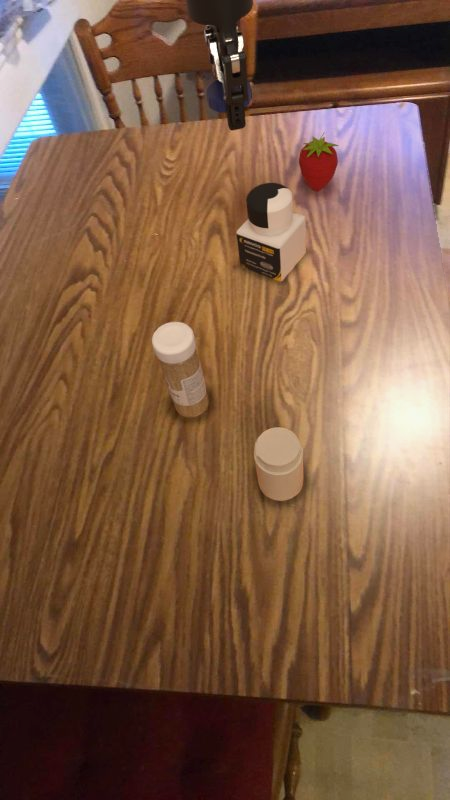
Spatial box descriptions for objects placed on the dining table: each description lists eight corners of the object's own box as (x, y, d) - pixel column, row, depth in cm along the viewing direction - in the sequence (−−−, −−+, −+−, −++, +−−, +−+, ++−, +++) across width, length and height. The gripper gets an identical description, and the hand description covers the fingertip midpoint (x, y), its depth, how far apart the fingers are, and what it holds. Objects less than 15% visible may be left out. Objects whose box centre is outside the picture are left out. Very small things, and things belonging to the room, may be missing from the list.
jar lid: (212, 117, 71) (211, 104, 70) (204, 95, 74) (202, 82, 73) (256, 106, 71) (255, 94, 70) (246, 85, 75) (245, 72, 73)
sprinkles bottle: (168, 404, 71) (143, 333, 60) (199, 385, 72) (179, 313, 61) (187, 428, 69) (164, 359, 58) (218, 409, 70) (201, 338, 59)
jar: (294, 457, 65) (292, 418, 58) (310, 495, 62) (310, 459, 55) (252, 471, 64) (246, 433, 58) (267, 509, 62) (261, 474, 55)
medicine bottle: (240, 270, 83) (230, 201, 74) (266, 241, 86) (260, 170, 76) (281, 286, 80) (277, 216, 71) (306, 255, 83) (306, 184, 74)
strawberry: (331, 174, 94) (333, 115, 85) (340, 202, 89) (344, 143, 81) (295, 180, 94) (294, 122, 86) (303, 208, 90) (302, 149, 81)
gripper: (171, -52, 65) (195, 95, 79) (192, -4, 57) (215, 152, 70) (234, -67, 65) (247, 83, 79) (265, -20, 57) (273, 138, 71)
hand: (232, 115), depth 74 cm, fingers closed on jar lid, 5 cm apart
